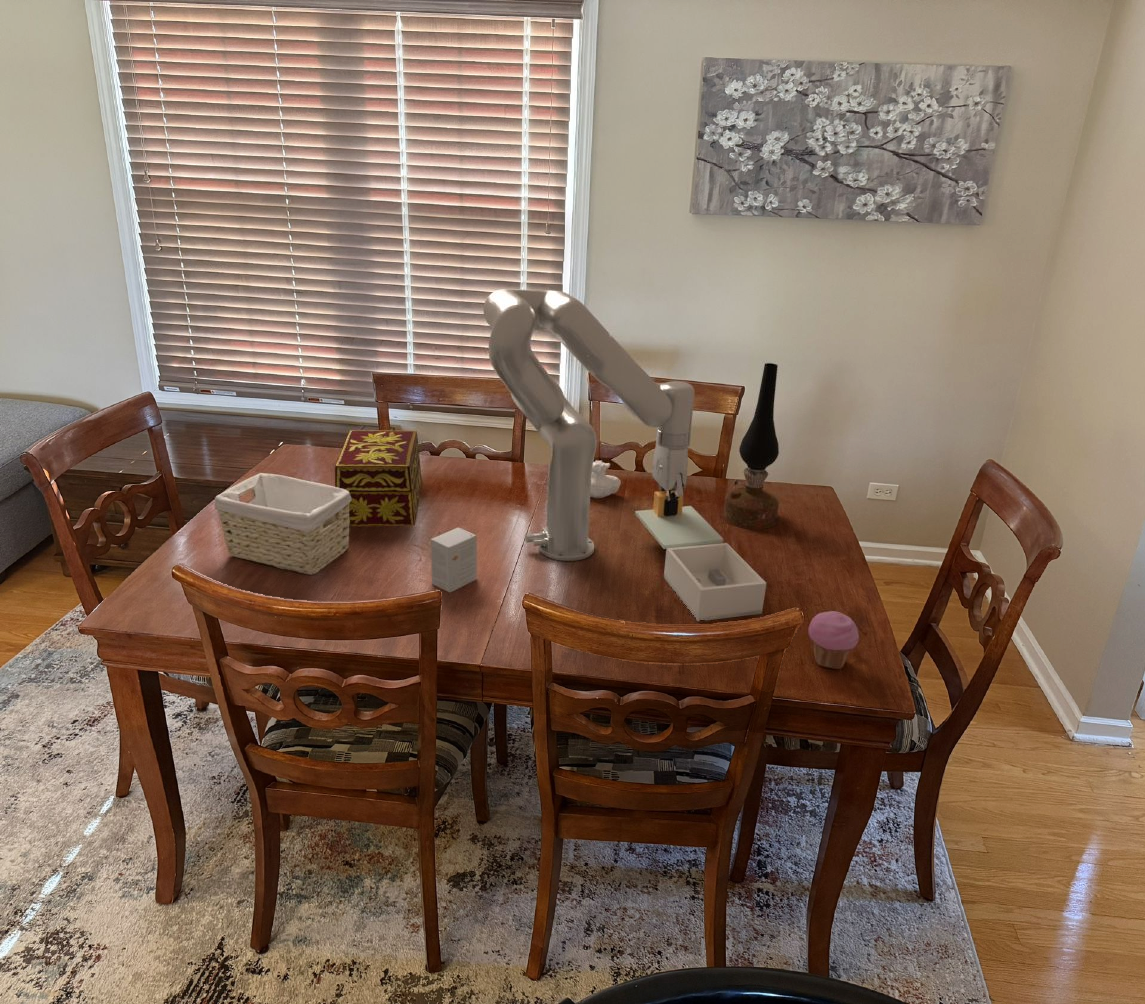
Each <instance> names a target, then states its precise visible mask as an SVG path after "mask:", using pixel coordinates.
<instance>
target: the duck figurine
mask: <svg viewBox="0 0 1145 1004" xmlns="http://www.w3.org/2000/svg"><path fill="white" fill-rule="evenodd" d="M610 466H611V463H609V462H608V463H607V462H606V463H605V462H603V460H597V459H596V460H595V461H593V466H592V476H591V493H590V498H595V499H601V498H602V499H603V498H605V497H608V496H610V495H611V494H612V495H613V494H616V493H617V492H618V490H619V488H620V486H621V484H622V482H621V480H620V478H618V477H616V476H614V475H608V474H607V472H606V470H607V469H609V468H610ZM606 474H607V475H606Z"/></svg>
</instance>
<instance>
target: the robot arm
mask: <svg viewBox="0 0 1145 1004" xmlns="http://www.w3.org/2000/svg"><path fill="white" fill-rule="evenodd" d="M483 316H484V320H485V322H486V323H487V324H488V325H489V327H490V328H491V333H490V335H489V336H490V337H489V341H488V359H489V361H490V364H491V366H492V369H493V370H494V372H495V373H496V376H498V378H499V379H500V381H502V383H503V384H504V386H505V387H506V389H507V390H508V391H509V392H510V395H511V398H512V400H513V402H514V404H515V405H516V406H517V408H518V409H519V410H520V411H521V412H522V414H523V415H524V416H525V417H526V418H527V420H528V421H529V422H530V424H531V425H532V426H533V427H534V429H535V430H536V431H537V432H538V433H539V435H540V436H541V437H542V438H543V439H544V441H545V443H547V445H548V446H549V447H550V449H551V456H550V461H549V465H548V471H547V492H546V493H547V497H546V501H547V502H546V526H544V527H542V531H538V533H525V535H524V541H525V543H527V544H528V543H532V546H533V547H536V546H537V547H538V549H539V552H540V553H541V554H543V555H544V556H546V557H547V558H550V559H554V560H557V561H565V562H573V561H580V560H584V559H587V558H588V557H590V556H591V555H592V554H594V552H595V543H594V542H593V540H592V539H591V538H589V525H590V510H591V509H590V508H591V507H590V506H591V497H590V493H591V476H592V466H593V462H594V460H595V455H596V451H597V444H598V443H597V441H598V440H597V435H596V433H595V430H594V428H593V426H592V425H591V423H590V422H589V421H588V420H587V419H586V418H585V417H584V416H583V415H582V414H580V413H579V412H578V411H577V410H576V409H575V408H574V406H573V405H572V404H571V403H570V402H569V400H568V399H567V398H566V397H565V395H564V391H563V389H562V388H561V386H560V385H559V384H558V382H557V381H556V380H555V379H554V378H553V377H552V376H551V375H550V374H549V373H548V371H547V370H546V369H545V367H544V366H543V364H542V363H541V362H540V360H539V359H538V358H537V356H536V355H535V353H534V352H533V350H532V346H531V341H532V336H533V333H534V331H549V332H550V333H552V334H553V336H554V337H555V338H556V339H557V340H558V341H559V342H560V343H561V344H562V345H563V346H564V347H565V349H566V350H568V351H569V352H570V354H571V355H572V356H573V357H575V359H576V360H577V361H578V362H579V363H580V364H581V365H582V366H583V367H584V368H585V369H586V371H588V373H590V375H592V376H593V377H594V379H596V380H597V381H598V382H599V383H601V384H602V385H604V386H605V387H606V388H608V389H609V390H610V391H611V392H612V393H614V394H615V395H616V396H617V397H618V398H619V399H620V401H621V402H622V405H623V407H624V408H625V409H626V411H628V413H630V414H631V415H632V416H633V417H635V418H636V419H638V420H639V421H640V422H641V424H644V425H645V426H646V427H651V428H656V440H655V441H656V442H655V448H654V453H653V459H652V460H653V462H652V470H651V476H652V478H653V480H655V481H656V483H658V491H667V497H666V499H665V503H664V515H665V516H672V515H677V512H678V500H679V498H680V497H682V496H683V497H684V491H683V490H685V488H686V486H687V481H688V466H689V465H688V461H689V459H688V458H689V454H688V451H689V449H688V447H690V446H691V435H692V423H693V415H694V413H693V411H694V402H695V388H694V387H693V385H692V384H690V383H688V382H684V381H678V380H677V381H676V380H675V381H674V380H673V381H671V380H670V381H666V382H655V381H654V380H653V378H652V377H651V376H650V375H649V374H648V373H647V372H646V371H645V370H644V369H643V368H642V367H641V366H640V365H639V364H638V363H637V361H635V360H634V358H633V357H632V356H631V354H629V353H628V351H626V349H624V347H623V346H622V345H621V344H620V343H619V342H618V341H617V340H616V339H615V338H614V336H613V335H612V334H611V333H610V332H609V331H608V330H607V329H606V328H605V327H604V325H603V324H601V322H600V321H599V320H598V319H597V317H595V315H594V314H593V313H592V312H591V311H590V310H589V309H588V308H587V306H586V305H584V304H583V303H582V302H581V301H580V300H579V299H578V298H575V297H574V296H572V295H571V294H569V293H567V292H564V291H561V290H550V289H549V290H548V289H547V290H545V289H544V290H543V289H524V288H523V289H520V288H502V289H498V290H495V291H493V292H492V293H490V294H489V295H488V296H487V298H486V299H485V301H484V305H483ZM674 490H676V491H675V492H672V493H671V491H674Z"/></svg>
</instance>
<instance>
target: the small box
mask: <svg viewBox="0 0 1145 1004" xmlns="http://www.w3.org/2000/svg"><path fill="white" fill-rule="evenodd" d="M477 538H478V537H477V535H476V534H474V533H473V532H470V531H467V530H465V529H463V528H461V527H456V528H454V529H452V530H449V531H447V532H444V533H442V534H439V535H437V536H435V537H433V538H431V539H430V565H431V569H430V570H431V584H432V585H433V586H435V587H438V588H439V589H442V590H444V591H446V592H447V593H452V592H454V591H456V590H459V589H461V588H462V587H464V586H466V585H468V584H470V583H472V582H474V581H476V580H477V579H478V560H477V559H478V553H477V552H478V549H477V548H478V547H477V544H478V543H477V541H478V540H477Z"/></svg>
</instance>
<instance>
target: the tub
mask: <svg viewBox="0 0 1145 1004" xmlns="http://www.w3.org/2000/svg"><path fill="white" fill-rule="evenodd" d="M663 571H664V573H663V578H664V580H665V581H666V583H667V584H668V585H669V586H670V588H671V587H672V588H671V590H673V592H674V591H675V592H676V593H675V592H674V593H675V595H676V596H677V597H678V596H679V597H680V598H679V597H678V598H679V599H680V601H681V600H682V601H683V602H682V601H681V602H682V603H683V605H684V604H685V605H686V606H687V607H686V606H685V605H684V606H685V607H686V608H687V610H688V609H689V610H690V611H691V612H690V611H689V610H688V611H689V612H690V614H691V613H692V614H691V616H693V615H694V616H693V617H695V618H696V619H695V618H694V619H695V620H696V622H701V621H700V620H705V621H711V620H719V619H728V618H736V617H737V618H738V617H745V616H746V617H747V616H755V615H762V614H763V608H764V601H765V595H766V591H767V582H766V581H765V580H764V578H762V577H761V576H760V575H759V574H758V573H757V572H756V571H755V569H753V568H752V567H751V566H750V565H749V564H748V563H747V561H746V560H745V559H743V558H742V557H741V555H739V553H737V551H736V550H735V549H733V547H732V546H731V545H730V544H729V543H728V542H722V543H712V544H703V545H694V546H685V547H675V548H666V551H665V561H664V570H663Z"/></svg>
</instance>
